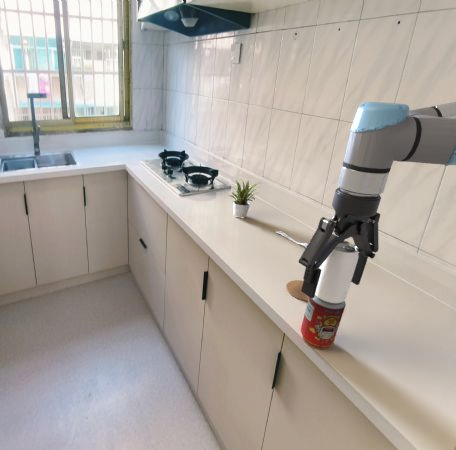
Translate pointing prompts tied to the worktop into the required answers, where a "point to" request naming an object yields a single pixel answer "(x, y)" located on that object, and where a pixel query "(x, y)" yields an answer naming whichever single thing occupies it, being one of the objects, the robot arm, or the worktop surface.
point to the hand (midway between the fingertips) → (330, 287)
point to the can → (337, 273)
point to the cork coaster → (296, 290)
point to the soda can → (321, 322)
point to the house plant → (242, 199)
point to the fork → (291, 238)
